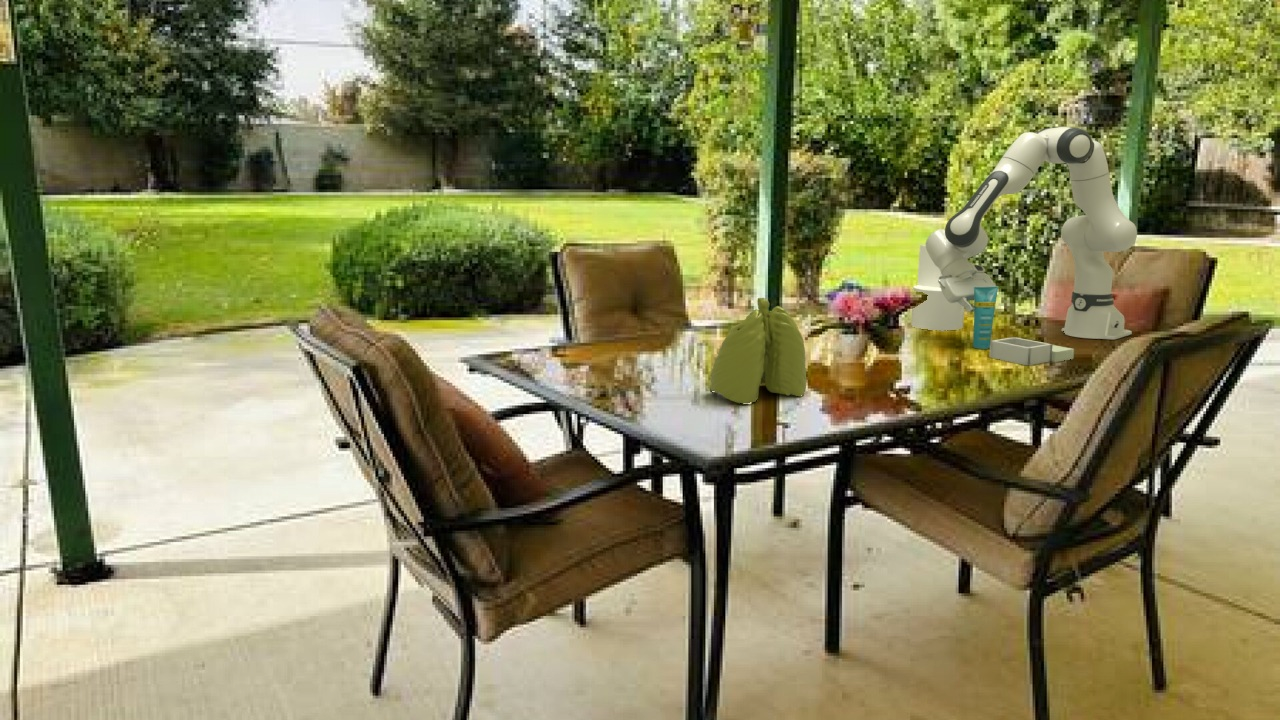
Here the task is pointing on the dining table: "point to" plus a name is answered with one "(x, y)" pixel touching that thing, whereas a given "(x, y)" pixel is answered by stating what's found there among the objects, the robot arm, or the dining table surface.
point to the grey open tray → (1028, 351)
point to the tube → (983, 315)
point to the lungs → (761, 357)
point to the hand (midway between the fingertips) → (982, 309)
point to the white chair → (934, 299)
